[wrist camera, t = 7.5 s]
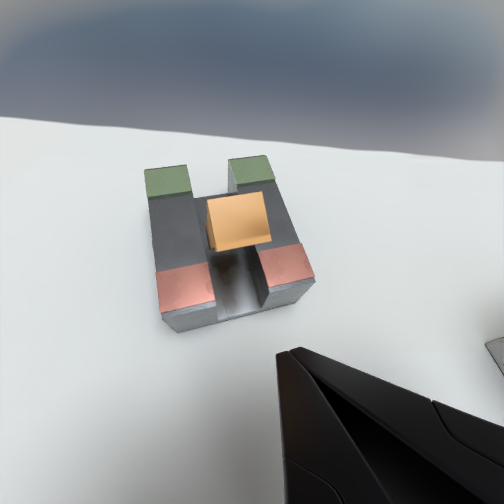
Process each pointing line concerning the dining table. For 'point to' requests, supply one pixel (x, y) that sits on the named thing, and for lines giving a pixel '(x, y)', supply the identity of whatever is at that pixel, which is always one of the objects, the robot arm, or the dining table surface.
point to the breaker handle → (236, 222)
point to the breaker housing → (223, 262)
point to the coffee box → (497, 351)
